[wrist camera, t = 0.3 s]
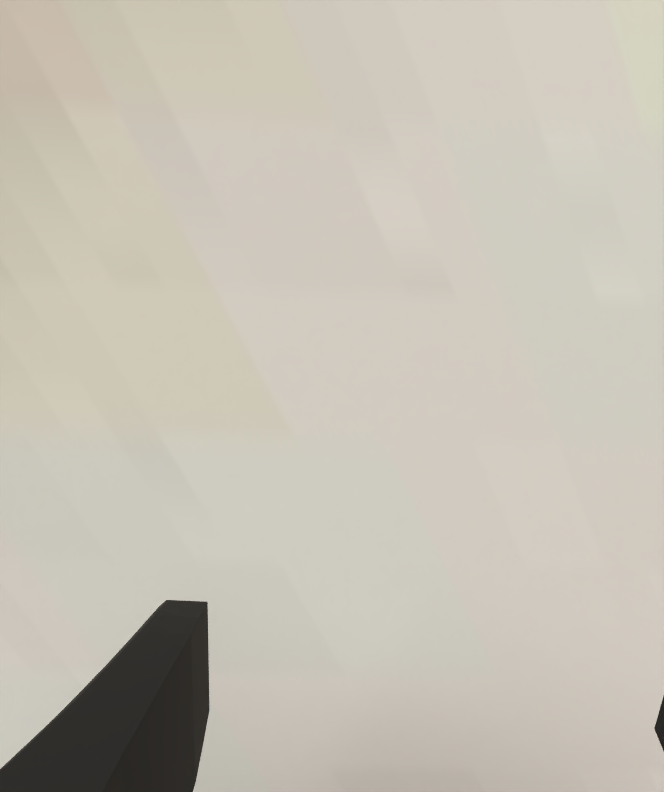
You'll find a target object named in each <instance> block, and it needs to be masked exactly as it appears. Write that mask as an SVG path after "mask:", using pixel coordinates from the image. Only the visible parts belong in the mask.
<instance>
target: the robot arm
mask: <svg viewBox="0 0 664 792" xmlns="http://www.w3.org/2000/svg"><path fill="white" fill-rule="evenodd" d="M208 714H209V666H208V610H207V602H198V601H175V600H166V601H165V602H164V603H163V604H162V605H160V606H159V607H158V608H157V610H156V611H155V612H154V613H153V614H152V615H151V616H150V617H149V619H148V620H147V621H146V622H145V623H144V624H143V625H142V627H141V628H140V629H139V630H138V631H137V632H136V633H135V634H134V635H133V637H132V638H131V639H130V640H129V641H128V642H127V643H126V644H125V645H124V647H123V648H122V649H121V650H120V651H119V652H118V653H117V654H116V655H115V656H114V657H113V658H112V660H111V661H110V662H109V663H108V664H107V665H106V666H105V667H104V668H103V669H102V670H101V671H100V672H99V673H98V674H97V675H96V676H95V677H94V678H93V679H92V681H91V682H90V683H89V684H88V685H87V686H86V687H85V688H84V689H83V690H82V691H81V692H80V693H79V694H78V695H77V696H76V697H75V698H74V699H73V700H72V701H71V702H70V703H69V704H68V705H67V706H66V707H65V708H64V709H63V710H62V711H61V712H60V713H59V714H58V715H57V716H56V717H55V718H54V719H53V720H52V721H51V722H50V723H49V724H48V725H47V726H46V727H45V728H44V729H43V730H41V731H40V732H39V733H38V734H37V735H36V736H35V737H34V738H33V739H32V740H31V741H30V742H29V743H28V744H27V745H26V746H24V747H23V748H22V749H21V750H20V751H19V752H18V753H17V754H16V755H15V756H14V757H13V758H12V759H11V760H10V761H9V762H8V763H6V764H5V765H4V766H3V767H2V768H1V769H0V792H193V789H194V786H195V782H196V777H197V772H198V767H199V762H200V757H201V752H202V746H203V741H204V736H205V730H206V725H207V719H208ZM655 731H656V733H657V736H658V738H659V741H660V743H661V746H662V748H663V750H664V697H663V700H662V704H661V707H660V711H659V715H658V718H657V722H656V725H655Z"/></svg>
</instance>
